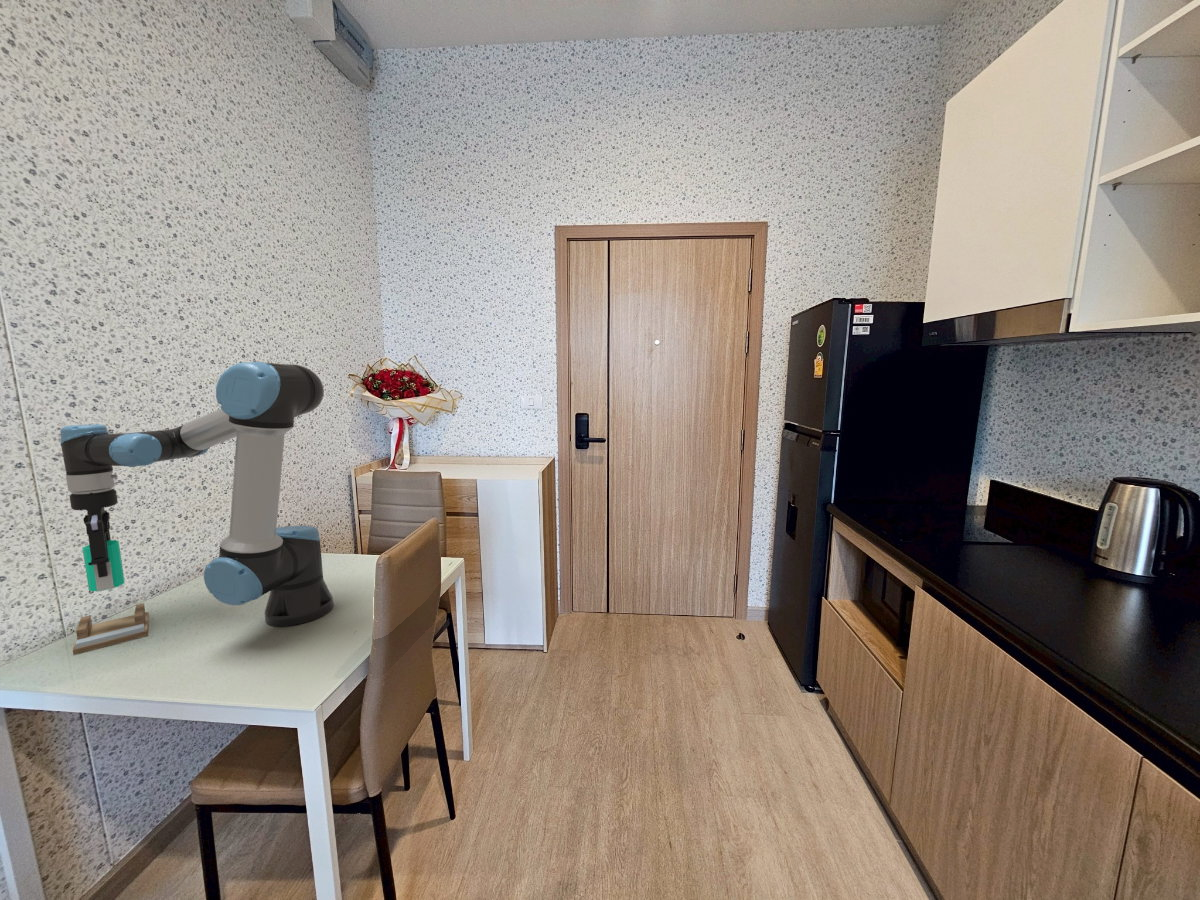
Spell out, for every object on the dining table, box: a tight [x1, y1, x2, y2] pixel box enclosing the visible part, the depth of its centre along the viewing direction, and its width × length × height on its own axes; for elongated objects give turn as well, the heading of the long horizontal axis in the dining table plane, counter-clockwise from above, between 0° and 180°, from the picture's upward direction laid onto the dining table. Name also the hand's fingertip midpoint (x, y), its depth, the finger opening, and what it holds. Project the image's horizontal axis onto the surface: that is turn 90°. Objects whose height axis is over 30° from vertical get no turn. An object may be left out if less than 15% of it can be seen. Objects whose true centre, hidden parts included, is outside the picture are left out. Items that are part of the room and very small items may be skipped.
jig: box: [72, 602, 150, 656], centre depth 114 cm, size 14×12×4 cm
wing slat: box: [75, 624, 144, 648], centre depth 111 cm, size 2×11×1 cm, turn 132°
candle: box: [82, 539, 125, 592], centre depth 113 cm, size 6×6×12 cm
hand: (106, 584), depth 114 cm, fingers closed on candle, 6 cm apart
